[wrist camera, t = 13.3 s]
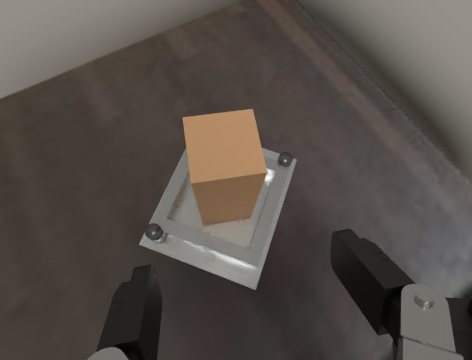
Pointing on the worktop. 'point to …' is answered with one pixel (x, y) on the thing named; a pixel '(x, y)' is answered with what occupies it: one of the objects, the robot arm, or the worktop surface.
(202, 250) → the plate
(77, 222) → the worktop surface
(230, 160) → the tan block
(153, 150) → the worktop surface
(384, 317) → the robot arm
